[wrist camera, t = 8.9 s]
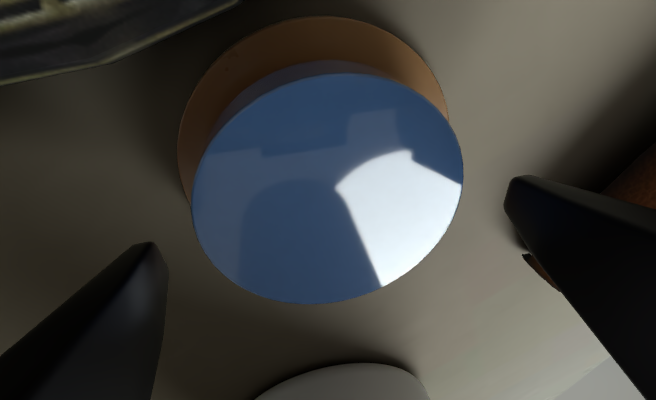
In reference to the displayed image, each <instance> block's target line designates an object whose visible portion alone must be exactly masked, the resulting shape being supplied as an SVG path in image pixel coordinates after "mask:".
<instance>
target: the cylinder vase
mask: <svg viewBox="0 0 656 400" xmlns="http://www.w3.org/2000/svg"><path fill="white" fill-rule="evenodd" d="M255 400H430V398H429V396H428V394H427V391H426V389H425V388H424V386H423V385H422V384H421V382H420V381H419V380H418V379H417V378H416V377H414V376H413V375H412V374H410V373H408V372H406V371H404V370H402V369H400V368H397V367H393V366H389V365H384V364H376V363H352V364H342V365H335V366H330V367H325V368H321V369H317V370H313V371H310V372H307V373H304V374H301V375H298V376H296V377H293V378H291V379H288V380H286V381H284V382H282V383H280V384H278V385H276V386H274V387H272V388H271V389H269V390H267V391H266V392H264V393H263V394H261V395H260V396H259V397H257V398H256V399H255Z"/></svg>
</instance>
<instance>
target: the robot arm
mask: <svg viewBox="0 0 656 400" xmlns="http://www.w3.org/2000/svg"><path fill="white" fill-rule="evenodd" d="M504 210H505V212H506V214H507V215H508V217H509V219H510V220H511V222H512V223H513V225H514V227H515V228H516V230H517V231H518V233H519V234H520V236H521V238H522V239H523V241H524V242H525V244H526V245H527V247H528V249H529V250H530V252H531V253H532V255H533V256H534V258H535V259H536V260H537V262H538V263H539V264H540V266H541V267H542V268H543V270H544V271H545V272H546V273H547V275H548V276H549V277H550V279H551V280H552V281H553V282H554V284H555V285H556V286H557V287H558V289H559V290H560V291H561V293H562V294H563V295H564V296H565V298H566V299H567V300H568V301H569V303H570V304H571V305H572V307H573V308H574V309H575V310H576V312H577V313H578V314H579V315H580V317H581V318H582V319H583V321H584V322H585V323H586V324H587V326H588V327H589V328H590V329H591V331H592V332H593V333H594V335H595V336H596V337H597V338H598V340H599V341H600V342H601V343H602V345H603V346H604V347H605V349H606V350H607V351H608V352H609V354H610V355H611V356H612V357H613V359H614V360H615V361H616V363H617V364H618V365H619V366H620V368H621V369H622V370H623V371H624V373H625V374H626V375H627V376H628V378H629V379H630V380H631V382H632V383H633V384H634V386H635V387H636V388H637V389H638V390H639V392H640V393H641V394H642V396H643V397H644V398H645V400H656V209H652V208H649V207H645V206H642V205H638V204H634V203H631V202H627V201H623V200H620V199H616V198H612V197H609V196H605V195H601V194H598V193H594V192H590V191H587V190H583V189H579V188H576V187H572V186H569V185H565V184H561V183H558V182H554V181H550V180H547V179H543V178H539V177H536V176H532V175H524V176H518V177H514V178H513V179H512V180H511V181H510V183H509V187H508V190H507V193H506V197H505V200H504ZM168 280H169V271H168V267H167V264H166V262H165V261H164V259H163V257H162V255H161V253H160V251H159V249H158V247H157V245H156V244H155V243H154V242H144V243H139V244H134V245H132V246H131V247H130V248H129V249H127V250H126V251H125V252H124V253H123V254H122V255H120V256H119V257H118V258H117V259H116V260H114V261H113V262H112V263H111V264H110V265H108V266H107V267H106V268H105V269H104V270H102V271H101V272H100V273H99V274H98V275H96V276H95V277H94V278H93V279H92V280H90V281H89V282H88V283H87V284H86V285H85V286H83V287H82V288H81V289H80V290H79V291H77V292H76V293H75V294H74V295H73V296H71V297H70V298H69V299H68V300H67V301H65V302H64V303H63V304H62V305H61V306H59V307H58V308H57V309H56V310H55V311H53V312H52V313H51V314H50V315H49V316H48V317H46V318H45V319H44V320H43V321H42V322H40V323H39V324H38V325H37V326H36V327H34V328H33V329H32V330H31V331H30V332H28V333H27V334H26V335H25V336H24V337H22V338H21V339H20V340H19V341H18V342H16V343H15V344H14V345H13V346H12V347H11V348H9V349H8V350H7V351H6V352H5V353H3V354H2V355H1V356H0V400H150V399H151V394H152V389H153V384H154V379H155V375H156V370H157V365H158V360H159V356H160V351H161V346H162V340H163V335H164V326H165V315H166V303H167V292H168Z"/></svg>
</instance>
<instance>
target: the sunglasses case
mask: <svg viewBox="0 0 656 400" xmlns="http://www.w3.org/2000/svg"><path fill="white" fill-rule="evenodd" d="M600 194H601V195H605V196H609V197H612V198H616V199H620V200H623V201H627V202H631V203H634V204H638V205H642V206H645V207H649V208H652V209H656V142H655V143H654V144H653V145H652V146H650V147H649V148H648V149H647V150H646V151H645V152H644V153H642V154H641V155H640V156H639V157H638V158H637V159H636V160H635V161H634V162H633V163H632V164H631V165H630V166H629V167H628V168H626V169H625V170H624V171H623V172H622V173H621V174H620V175H619V176H618V177H617V178H616V179H615V180H614V181H613V182H612V183H611V184H610V185H609V186H608V187H607V188H606V189H605V190H603V191H602V192H601V193H600ZM522 256H523V258H524V260H525V261H526V262H527V263H528V264H529V265H530V266H531V267H532V268H533V269H534V270H535V271H536V272H537V273H538V274H539V275H540V276H541V277H542V278H543V279H544V280H546V281H547V282H548V283H549V284H550V285H551V286H552V287H553V288H555V289H557V290H558V291H559V292H561V291H560V290H559V289H558V287H557V286H556V285H555V284H554V282H553V281H552V280H551V279H550V277H549V276H548V275H547V273H546V272H545V271H544V270H543V268H542V267H541V266H540V264H539V263H538V262H537V260H536V259H535V258H534V256H533V255H531V254H530V253H528V254H522Z"/></svg>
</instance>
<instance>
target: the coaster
mask: <svg viewBox="0 0 656 400" xmlns="http://www.w3.org/2000/svg"><path fill="white" fill-rule="evenodd" d="M318 60H343V61H354V62H358V63H362V64H366V65H370V66H373V67H375V68H378V69H380V70H382V71H385V72H387V73H389V74H391V75H392V76H394V77H396V78H397V79H399V80H400V81H402V82H404V83H405V84H407V85H408V86H410V87H411V88H413V89H414V90H416V91H417V92H419V93H420V94H422V95H423V96H424V97H426V98H427V99H428V100H429V101H430V102H431V103H432V104H434V105H435V106H436V107H437V108H438V109H439V111H440V112H441V113H442V114H443V115H444V117H445V118H446V119H447V120H448V122H449V117H448V112H447V106H446V102H445V99H444V96H443V94H442V91H441V88H440V86H439V84H438V82H437V80H436V78H435V76H434V75H433V73H432V71H431V70H430V69H429V67H428V66H427V65H426V63H425V62H424V61H423V59H422V58H421V57H420V56H419V55H418V54H417V53H416V52H415V51H414V50H413V49H412V48H410V47H409V46H408V45H407V44H406V43H404V42H403V41H401V40H400V39H398V38H397V37H395V36H394V35H393V34H391V33H389V32H387V31H385V30H382V29H380V28H378V27H376V26H374V25H371V24H368V23H365V22H362V21H358V20H355V19H351V18H345V17H337V16H329V15H323V16H303V17H298V18H292V19H287V20H283V21H280V22H277V23H274V24H271V25H268V26H265V27H263V28H261V29H259V30H257V31H255V32H253V33H251V34H249V35H247V36H245V37H244V38H242V39H241V40H239V41H238V42H237V43H235V44H234V45H232V46H231V47H230V48H228V49H227V50H226V51H225V52H224V53H223V54H222V55H221V56H220V57H219V58H218V59H217V60H216V61H215V62H214V63H213V64H212V65H211V66H210V67H209V68H208V69H207V71H206V72H205V73H204V75H203V76H202V78H201V79H200V80H199V82H198V83H197V85H196V87H195V89H194V91H193V92H192V94H191V96H190V98H189V100H188V102H187V104H186V107H185V110H184V113H183V116H182V119H181V122H180V127H179V133H178V139H177V163H178V169H179V176H180V180H181V183H182V186H183V189H184V192H185V194H186V197H187V199H188V201H189V203H190V205H191V190H192V185H193V180H194V175H195V172H196V169H197V165H198V162H199V159H200V156H201V152H202V149H203V147H204V144H205V141H206V139H207V136H208V134H209V132H210V130H211V129H212V127H213V125H214V123H215V122H216V120H217V118H218V117H219V116H220V114H221V113H222V112H223V111H224V109H225V108H226V107H227V106H228V104H229V103H231V102H232V101H233V100H234V99H235V98H236V97H237V96H238V95H239V94H240V93H241V92H242V91H244V90H245V89H246V88H248V87H249V86H251V85H252V84H254V83H255V82H256V81H258V80H260V79H262V78H263V77H265V76H267V75H269V74H271V73H273V72H275V71H278V70H281V69H283V68H286V67H289V66H292V65H295V64H300V63H305V62H310V61H318Z"/></svg>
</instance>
